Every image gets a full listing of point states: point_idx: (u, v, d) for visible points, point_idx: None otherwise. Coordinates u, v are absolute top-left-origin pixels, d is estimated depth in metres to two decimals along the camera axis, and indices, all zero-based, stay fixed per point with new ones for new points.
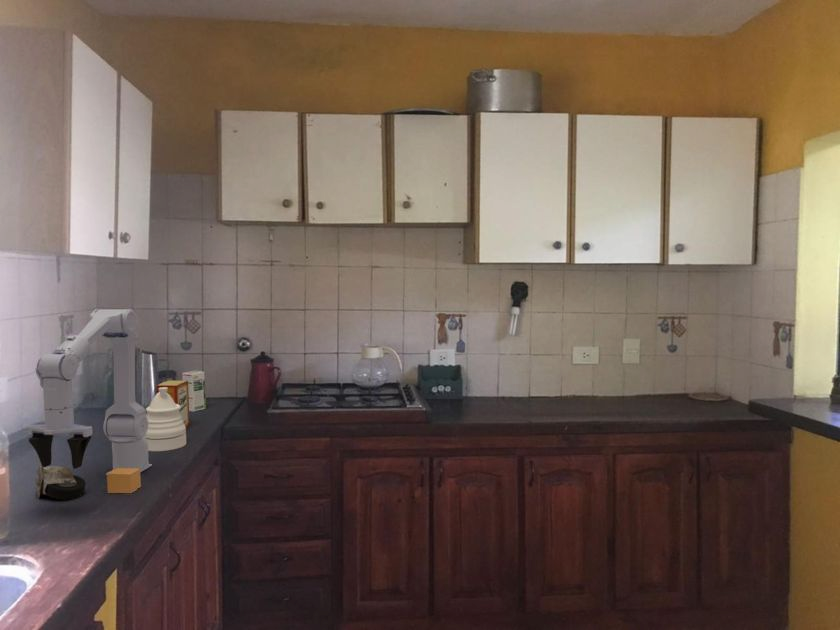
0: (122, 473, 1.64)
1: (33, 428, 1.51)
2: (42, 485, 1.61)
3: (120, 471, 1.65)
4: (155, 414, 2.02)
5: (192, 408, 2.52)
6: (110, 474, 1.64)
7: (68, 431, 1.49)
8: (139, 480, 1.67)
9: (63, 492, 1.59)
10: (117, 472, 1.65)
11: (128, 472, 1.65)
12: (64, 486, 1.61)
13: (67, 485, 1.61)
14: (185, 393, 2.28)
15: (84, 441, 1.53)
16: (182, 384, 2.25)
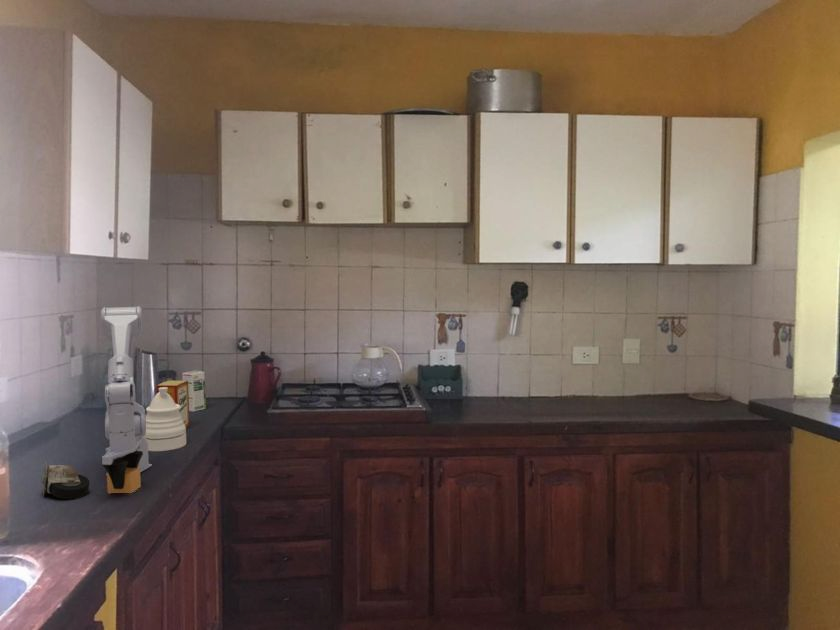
0: None
1: None
2: (47, 484, 1.62)
3: None
4: (155, 414, 2.02)
5: (192, 408, 2.52)
6: None
7: None
8: (139, 480, 1.67)
9: (66, 491, 1.59)
10: None
11: (128, 471, 1.65)
12: (67, 485, 1.61)
13: (70, 484, 1.62)
14: (185, 393, 2.28)
15: None
16: (182, 384, 2.25)
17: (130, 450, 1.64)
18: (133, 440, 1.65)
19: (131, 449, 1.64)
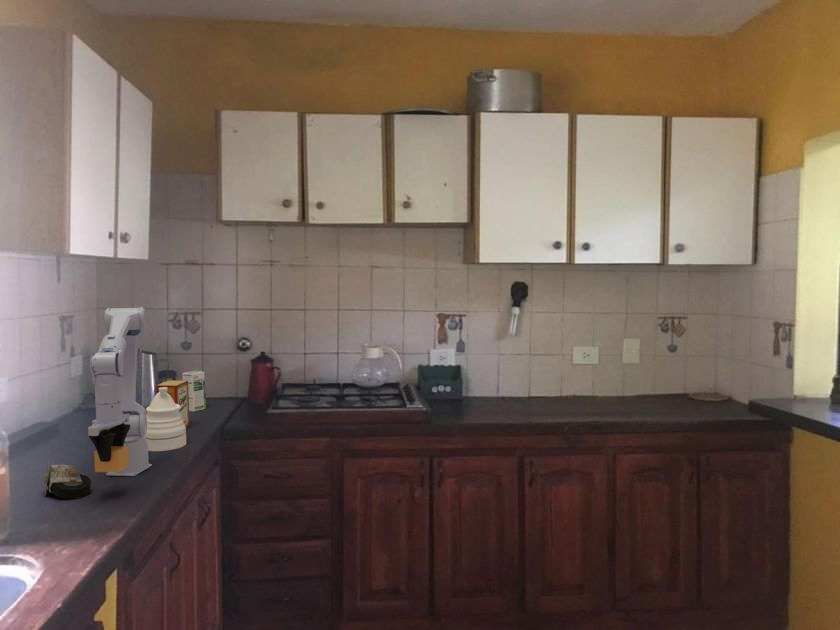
0: None
1: None
2: (49, 483, 1.62)
3: None
4: (155, 414, 2.02)
5: (192, 408, 2.52)
6: (97, 452, 1.60)
7: None
8: (127, 458, 1.64)
9: (67, 491, 1.59)
10: None
11: (116, 449, 1.61)
12: (69, 485, 1.61)
13: (72, 484, 1.62)
14: (185, 393, 2.28)
15: None
16: (182, 384, 2.25)
17: (117, 422, 1.60)
18: (120, 412, 1.61)
19: (118, 421, 1.60)
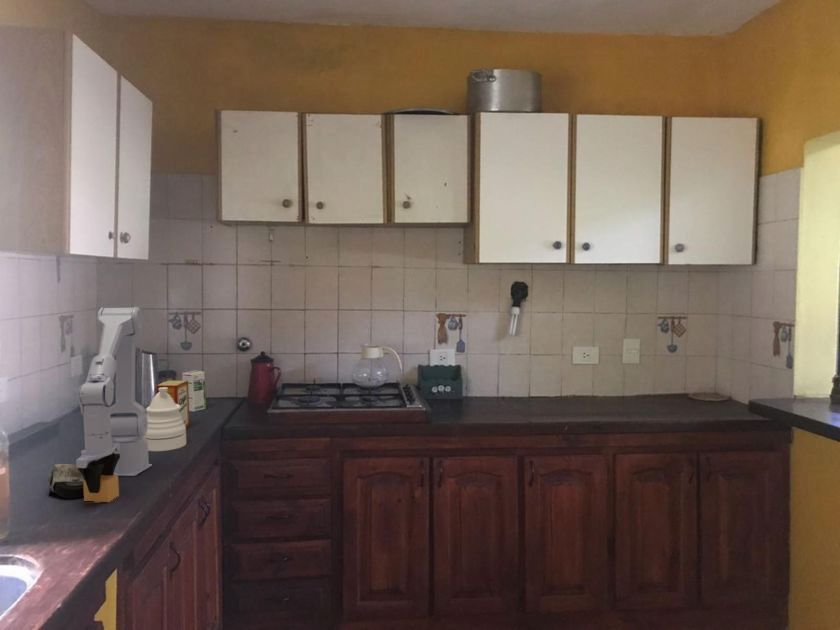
0: None
1: None
2: (52, 482, 1.63)
3: None
4: (155, 414, 2.02)
5: (192, 408, 2.52)
6: None
7: None
8: (117, 487, 1.62)
9: (68, 491, 1.60)
10: None
11: (105, 479, 1.59)
12: (71, 485, 1.61)
13: (74, 484, 1.62)
14: (185, 393, 2.28)
15: None
16: (182, 384, 2.25)
17: (106, 453, 1.58)
18: (109, 442, 1.59)
19: (107, 452, 1.58)
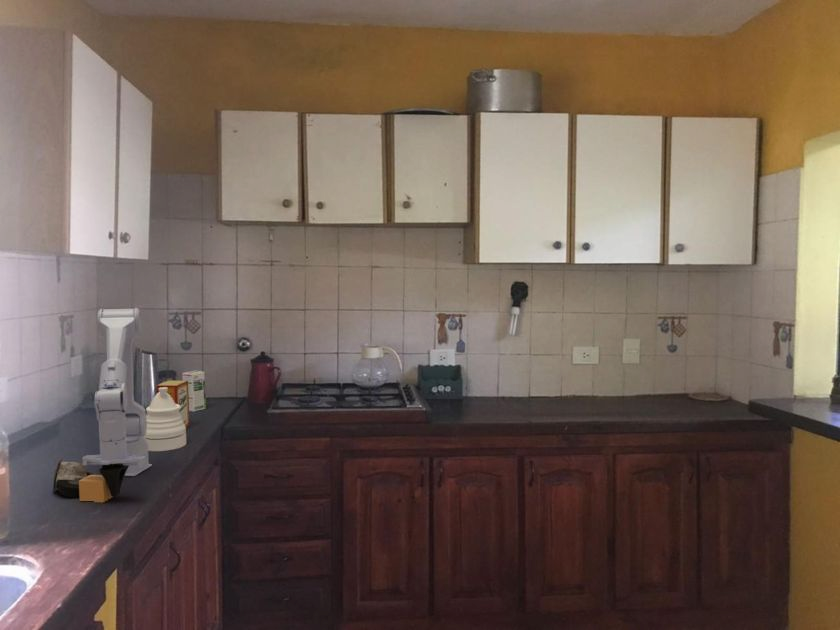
0: (94, 480, 1.58)
1: (88, 459, 1.59)
2: None
3: (93, 479, 1.59)
4: (155, 414, 2.02)
5: (192, 408, 2.52)
6: (82, 481, 1.58)
7: (123, 461, 1.57)
8: None
9: (68, 489, 1.60)
10: (89, 479, 1.59)
11: (101, 479, 1.59)
12: (72, 483, 1.62)
13: (76, 482, 1.63)
14: (185, 393, 2.28)
15: (122, 470, 1.60)
16: (182, 384, 2.25)
17: None
18: None
19: None
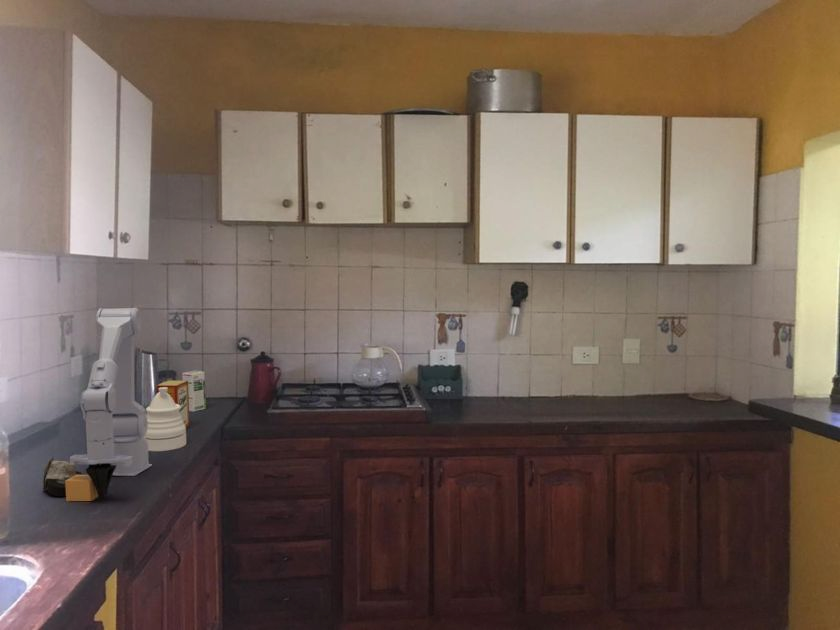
0: (81, 480, 1.58)
1: (75, 458, 1.59)
2: (47, 478, 1.66)
3: (79, 478, 1.60)
4: (155, 414, 2.02)
5: (192, 408, 2.52)
6: (68, 481, 1.58)
7: (110, 461, 1.57)
8: None
9: (56, 489, 1.61)
10: (76, 479, 1.59)
11: (87, 479, 1.59)
12: (60, 483, 1.63)
13: (64, 482, 1.63)
14: (185, 393, 2.28)
15: (110, 470, 1.61)
16: (182, 384, 2.25)
17: None
18: None
19: None
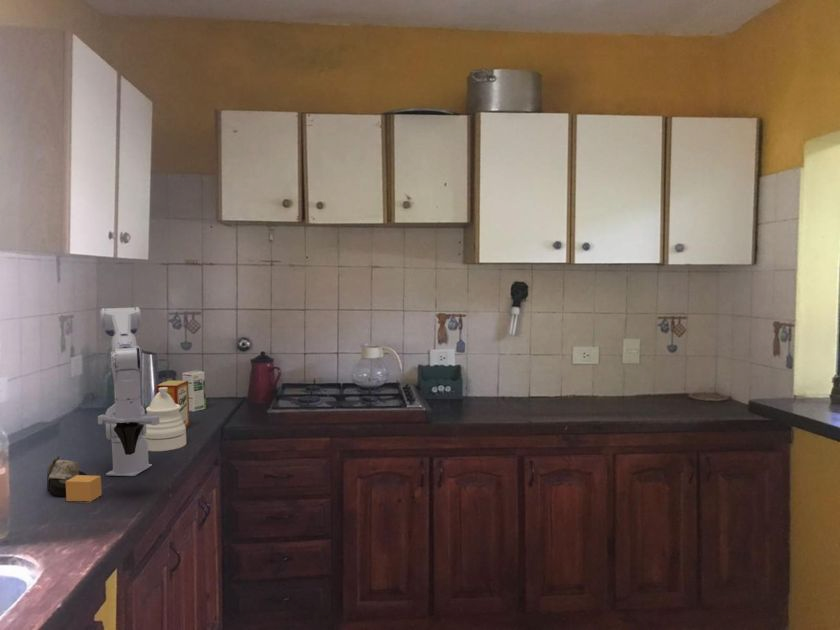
0: (81, 481, 1.58)
1: (103, 418, 1.62)
2: (51, 478, 1.66)
3: (80, 479, 1.60)
4: (155, 414, 2.02)
5: (192, 408, 2.52)
6: (69, 482, 1.58)
7: (138, 420, 1.60)
8: (100, 488, 1.62)
9: (57, 488, 1.61)
10: (76, 479, 1.59)
11: (88, 479, 1.59)
12: (62, 482, 1.63)
13: None
14: (185, 393, 2.28)
15: (137, 429, 1.63)
16: (182, 384, 2.25)
17: None
18: None
19: None
